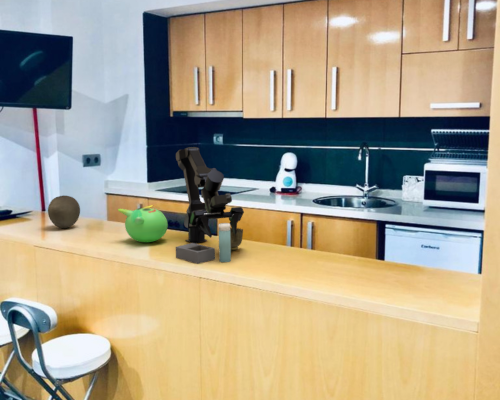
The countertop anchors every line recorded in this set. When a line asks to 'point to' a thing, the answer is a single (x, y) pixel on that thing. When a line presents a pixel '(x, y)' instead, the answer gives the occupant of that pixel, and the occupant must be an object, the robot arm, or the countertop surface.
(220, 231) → the peg
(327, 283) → the countertop surface
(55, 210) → the cantaloupe
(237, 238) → the cup
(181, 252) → the socket
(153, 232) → the toy bird
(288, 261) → the countertop surface
